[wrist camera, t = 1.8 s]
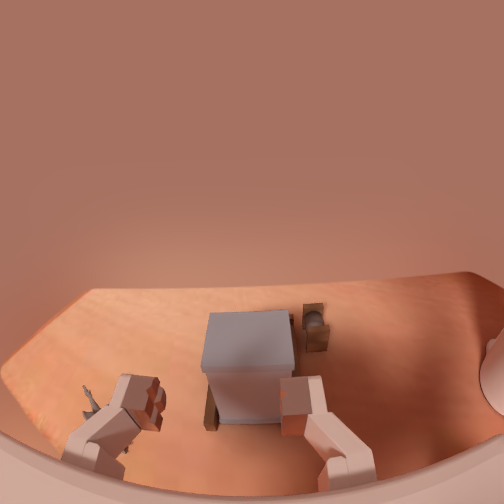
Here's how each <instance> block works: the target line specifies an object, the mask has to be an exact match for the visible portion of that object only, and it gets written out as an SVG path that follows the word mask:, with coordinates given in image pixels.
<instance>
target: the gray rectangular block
mask: <svg viewBox="0 0 504 504" xmlns="http://www.w3.org/2000/svg"><path fill="white" fill-rule="evenodd" d="M294 368H295V361H294V353H293V345H292V337H291V329H290V321H289V313H288V310H274V311H253V312H224V313H210V316H209V321H208V327H207V332H206V338H205V344H204V350H203V355H202V361H201V369H202V372H203V373H206V376H207V379H208V382H209V385H210V388H211V391H212V394H213V397H214V400H215V403H216V406H217V409H218V412H219V415H220V417H219V421H220V424H270V423H281V412H280V378H291V377H292V370H294Z"/></svg>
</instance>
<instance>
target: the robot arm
mask: <svg viewBox="0 0 504 504" xmlns="http://www.w3.org/2000/svg"><path fill="white" fill-rule="evenodd" d="M480 382H481V387H482V390H483V393H484V395H485V397H486V399H487V400H488V402H489V403H490V405H491V406H492V407H493V408H494V409H495V410H496V411H497V412H499V413H500V414H501V415H503V416H504V328H503V330H502V331H501V333H500V334H499V336H498V337H497V339H491V340H489V342H488V343H487V345H486V357H485V359H484V361H483V363H482V365H481V369H480ZM159 385H160V381H159V379H158V377H149V376H139V375H131V374H121V376H120V377H119V379H118V382H117V384H116V387H115V390H114V393H113V395H112V398H111V401H110V404H109V406H108V405H105V406H104V407H103V408H102V409H101V410H99V411H98V412H97V413H96V414H94V415H93V416H92V417H91V418H90V419H88V420H87V421H86V422H85V423H83V424H82V425H81V426H80V427H78V428H77V429H76V430H75V431H73V432H72V433H71V434H70V435H69V437H68V440H67V443H66V446H65V449H64V452H63V455H62V458H61V460H59V459H57V458H54V457H52V456H50V455H47V454H45V453H43V452H40V451H38V450H36V449H34V448H32V447H30V446H28V445H26V444H24V443H22V442H20V441H18V440H16V439H14V438H13V437H11V436H9V435H7V434H5V433H3V432H2V431H0V504H504V435H503V434H498V435H495V436H493V437H491V438H489V439H487V440H485V441H483V442H481V443H479V444H477V445H475V446H473V447H471V448H469V449H467V450H465V451H463V452H461V453H458V454H456V455H454V456H451V457H449V458H447V459H444V460H442V461H439V462H437V463H434V464H431V465H429V466H426V467H423V468H420V469H417V470H414V471H411V472H408V473H405V474H402V475H398V476H395V477H391V478H388V479H384V480H380V481H378V479H377V474H376V469H375V464H374V459H373V454H372V450H371V449H370V448H369V447H368V446H367V445H366V444H365V443H364V442H363V441H362V440H360V439H359V438H358V437H357V436H356V435H355V434H354V433H353V432H352V431H351V430H350V429H349V428H348V427H347V426H346V425H345V424H344V423H343V422H342V421H341V420H340V419H339V418H337V417H336V416H335V415H334V414H333V413H332V412H328V410H327V404H326V399H325V393H324V388H323V382H322V377H321V376H320V375H316V376H307V377H306V376H302V377H291V378H280V412H281V433H282V436H295V435H304V437H305V438H306V439H307V440H308V442H309V443H310V444H311V445H312V447H313V448H314V449H315V450H316V452H317V453H318V454H319V455H320V456H321V458H322V459H323V460H324V461H325V462H326V464H325V466H324V468H323V470H322V471H321V473H320V475H319V477H318V490H319V492H316V493H308V494H297V495H284V496H220V495H206V494H196V493H187V492H179V491H173V490H166V489H160V488H155V487H150V486H145V485H140V484H136V483H131V482H127V481H123V477H124V472H125V467H124V465H123V464H121V463H120V462H119V461H117V460H116V458H117V457H118V456H119V454H120V453H121V452H122V451H123V450H124V449H125V448H126V447H127V446H128V445H129V444H130V443H131V441H132V440H133V439H134V438H135V437H136V436H137V435H138V434H139V433H140V432H141V430H148V431H156V432H160V430H161V425H162V420H163V418H162V416H161V414H160V413H161V412H163V411H164V410H165V407H166V393H165V391H164V389H163V388H162V387H161V386H159Z"/></svg>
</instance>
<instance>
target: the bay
mask: <svg viewBox="0 0 504 504" xmlns="http://www.w3.org/2000/svg"><path fill="white" fill-rule="evenodd" d="M323 308H324V307H323V303H314V304H303V316H302V328H303V329H306V332H307V340H306V352H319V351H327V345H328V339H329V332H330V329H329V325H327V326H324V322H323V318H322V316H323ZM289 321H290V329H291V337H292V345H293V353H294V361H295V368H294V370H292V377H301V376H300V368H299V361H298V353H297V346H296V338H295V331H294V325H293V322H294V318H293V314H290V315H289ZM217 419H218V409H217V406H216V403H215V400H214V397H213V394H212V391H211V388H210V385H208V392H207V400H206V408H205V416H204V426H205V428H206V430H207V431H216V430H217Z"/></svg>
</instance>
